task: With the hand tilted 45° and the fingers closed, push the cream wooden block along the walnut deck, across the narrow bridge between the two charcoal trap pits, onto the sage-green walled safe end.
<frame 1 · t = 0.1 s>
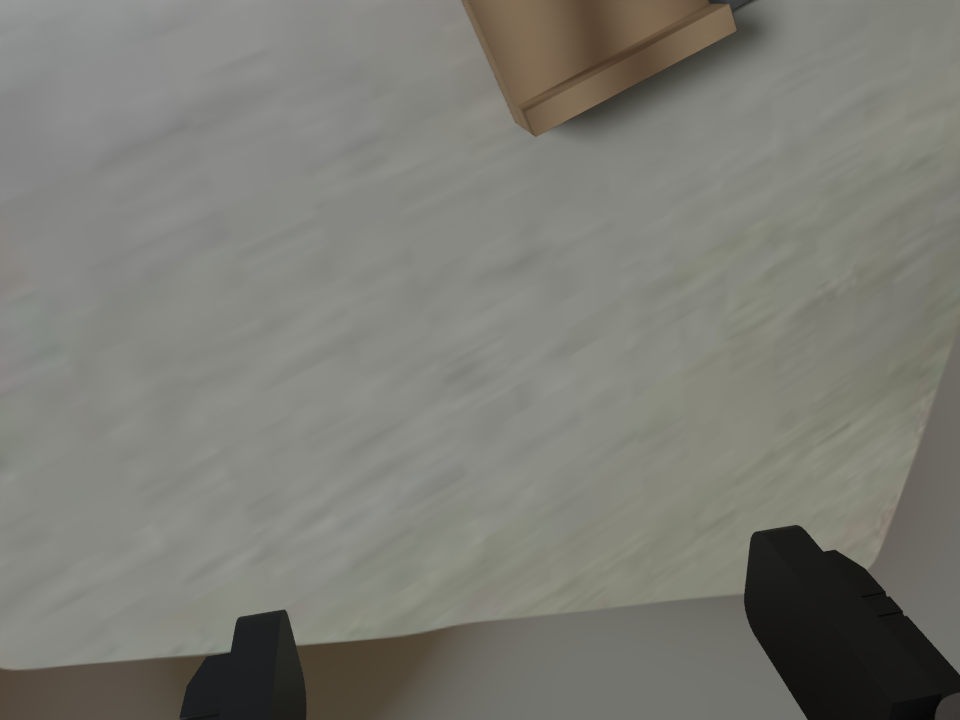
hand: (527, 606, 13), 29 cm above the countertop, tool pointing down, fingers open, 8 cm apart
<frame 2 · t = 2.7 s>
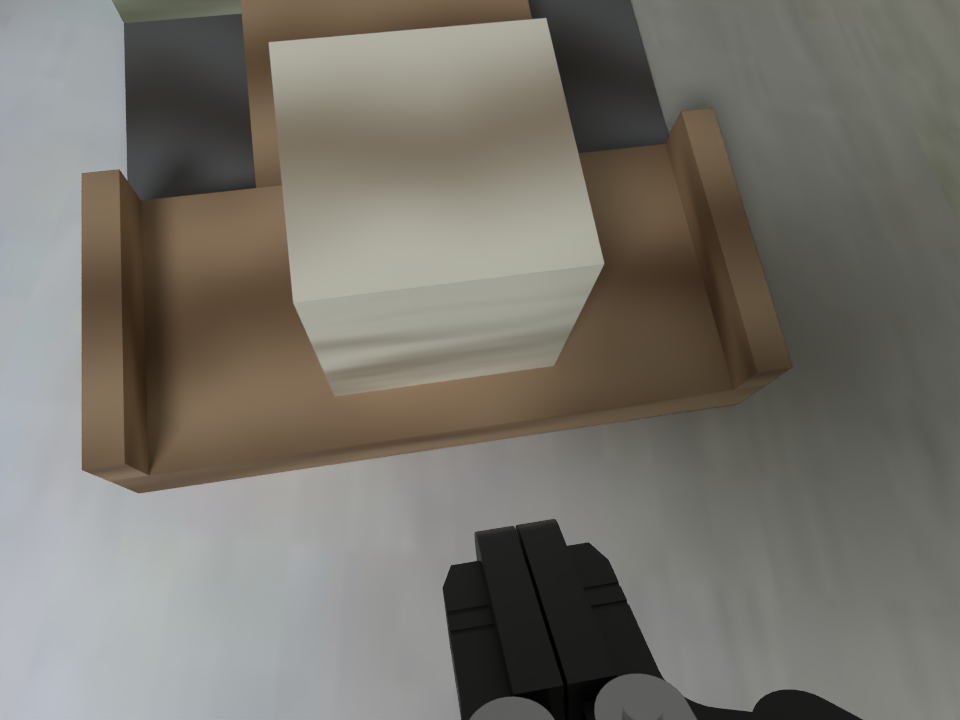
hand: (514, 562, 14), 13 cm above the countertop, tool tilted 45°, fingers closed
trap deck: (398, 102, 32), on the countertop
block: (430, 280, 27), point 2 cm above the countertop, touching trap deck
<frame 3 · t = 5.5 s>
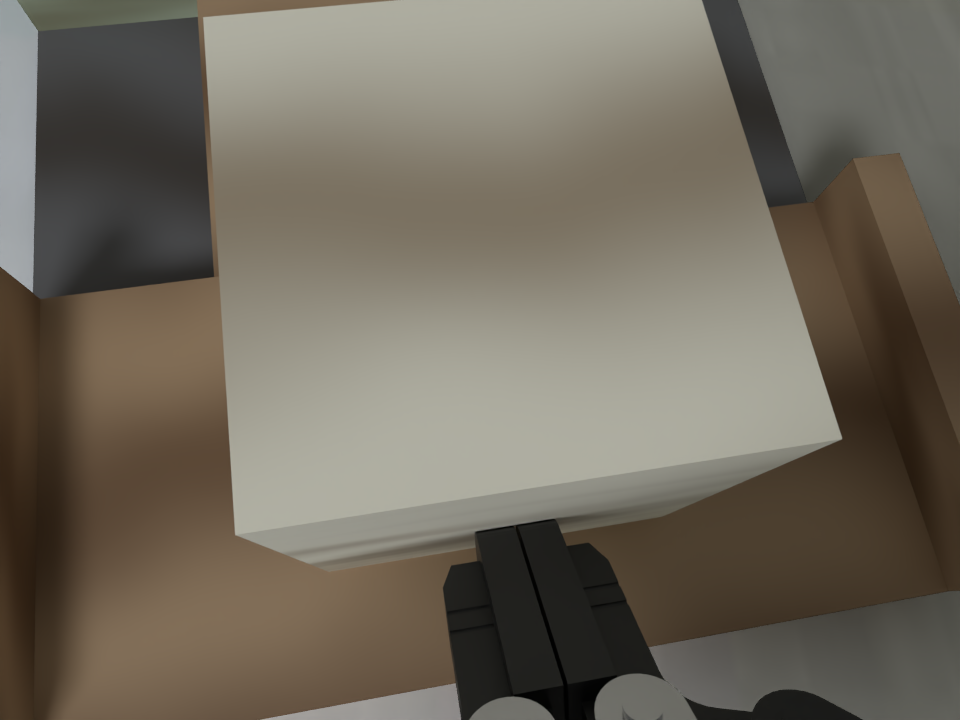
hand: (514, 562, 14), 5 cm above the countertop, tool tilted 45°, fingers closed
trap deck: (421, 139, 23), on the countertop
block: (472, 383, 18), point 3 cm above the countertop
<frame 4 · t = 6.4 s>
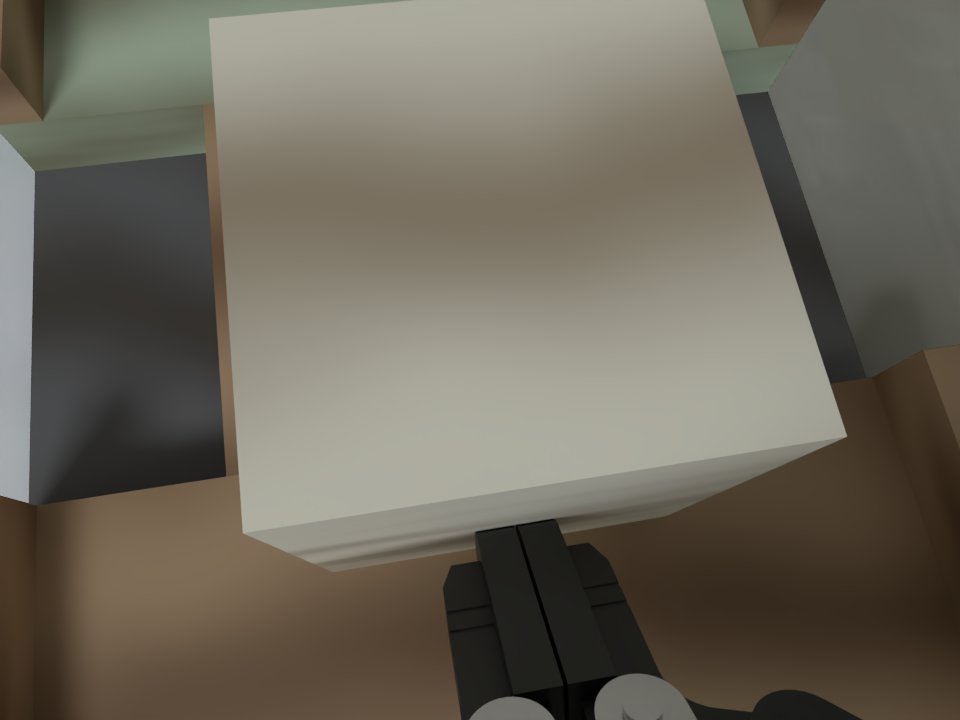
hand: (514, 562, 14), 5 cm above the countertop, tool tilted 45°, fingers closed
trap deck: (445, 286, 21), on the countertop
block: (475, 383, 18), point 3 cm above the countertop, touching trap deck
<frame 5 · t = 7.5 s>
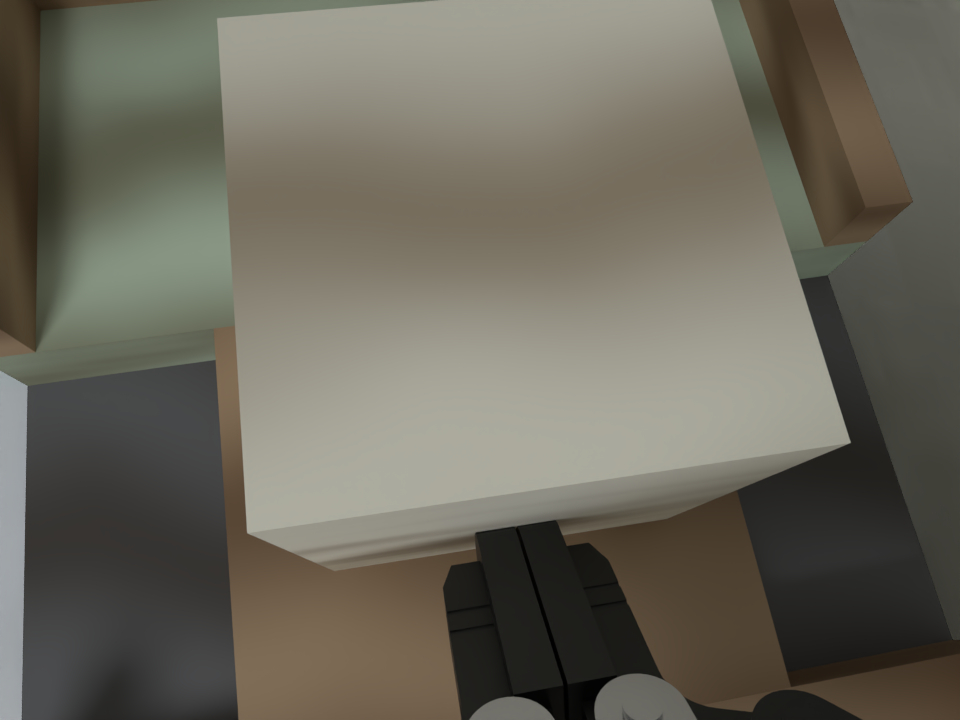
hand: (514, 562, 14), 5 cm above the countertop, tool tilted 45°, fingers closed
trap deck: (480, 512, 19), on the countertop
block: (478, 384, 18), point 2 cm above the countertop, touching gripper, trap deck
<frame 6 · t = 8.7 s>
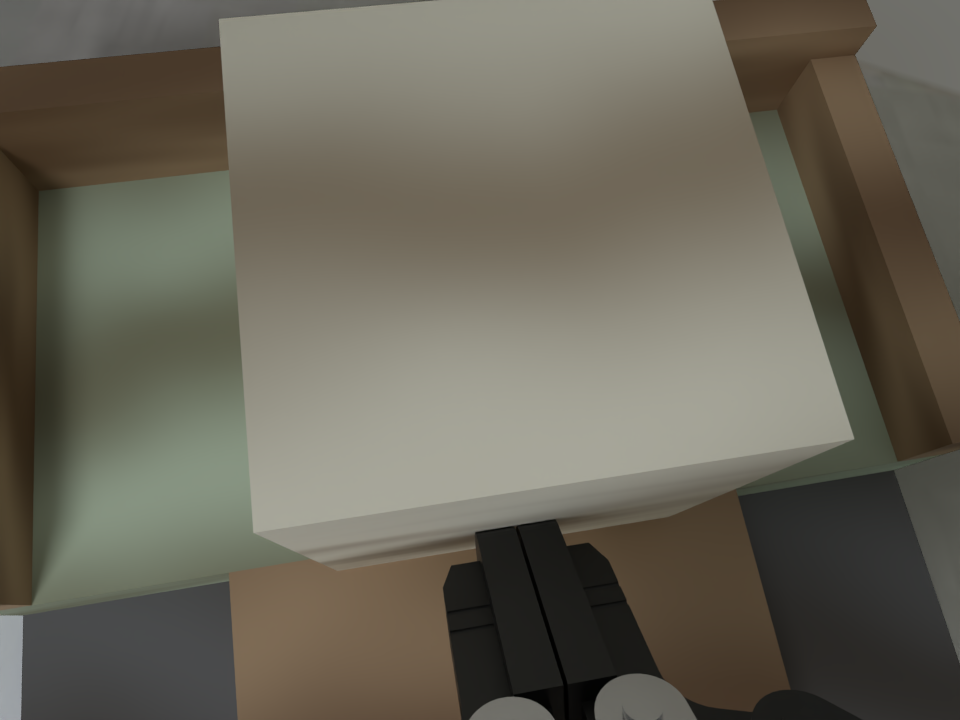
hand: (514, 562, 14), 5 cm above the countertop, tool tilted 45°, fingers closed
block: (480, 383, 18), point 3 cm above the countertop, touching gripper
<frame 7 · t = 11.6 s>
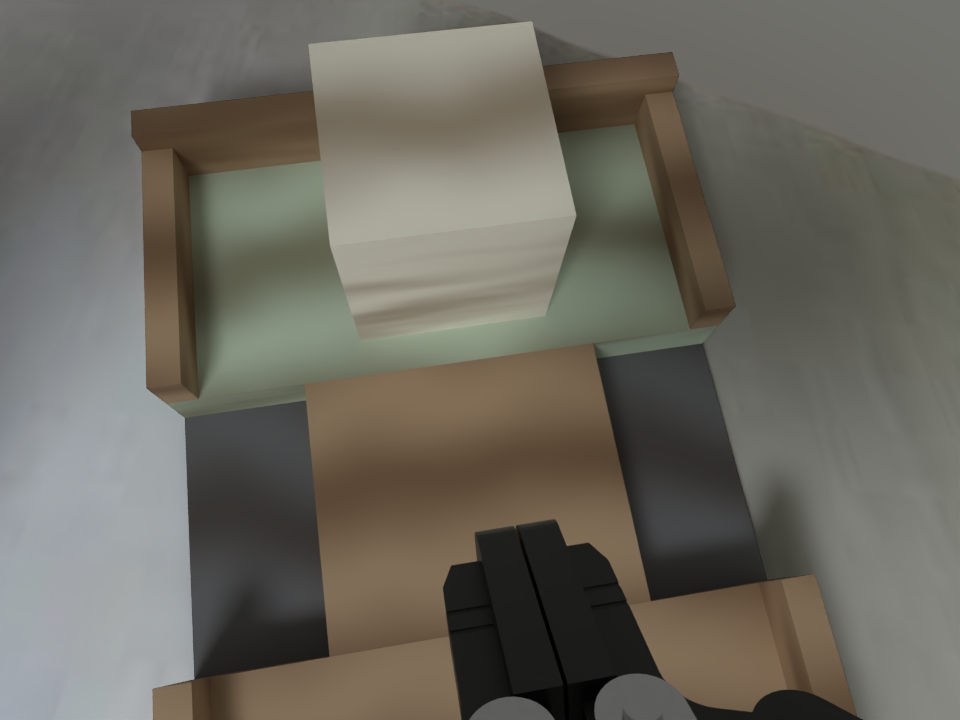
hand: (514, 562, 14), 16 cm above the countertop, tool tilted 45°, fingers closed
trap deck: (469, 498, 30), on the countertop
block: (440, 245, 31), point 2 cm above the countertop, touching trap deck
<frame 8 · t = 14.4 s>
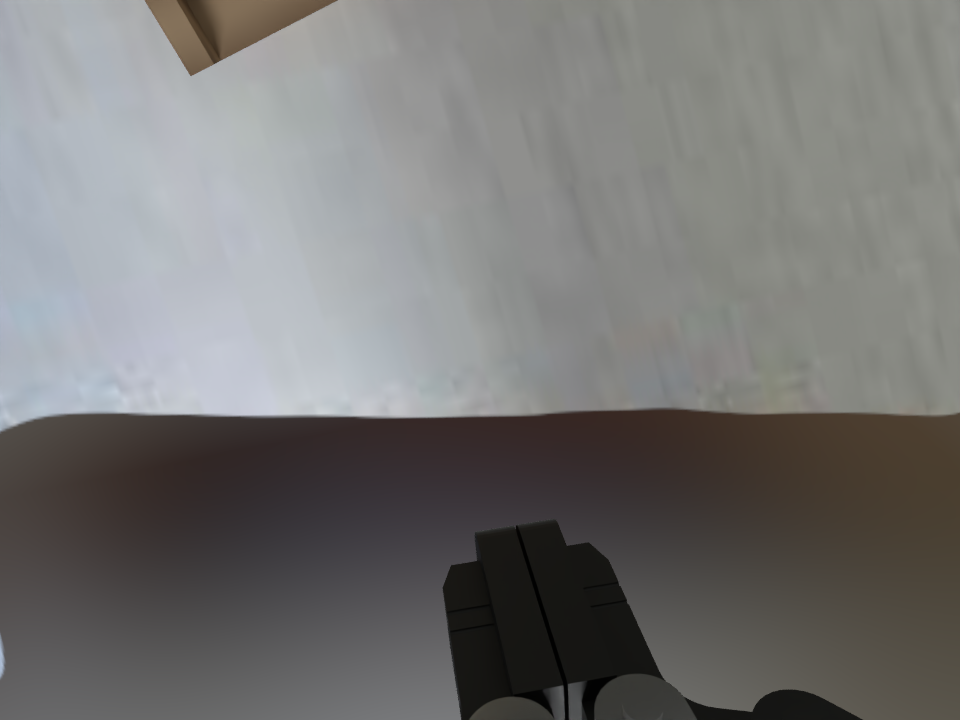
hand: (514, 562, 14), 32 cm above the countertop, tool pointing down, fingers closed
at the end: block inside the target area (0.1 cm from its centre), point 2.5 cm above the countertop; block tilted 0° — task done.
